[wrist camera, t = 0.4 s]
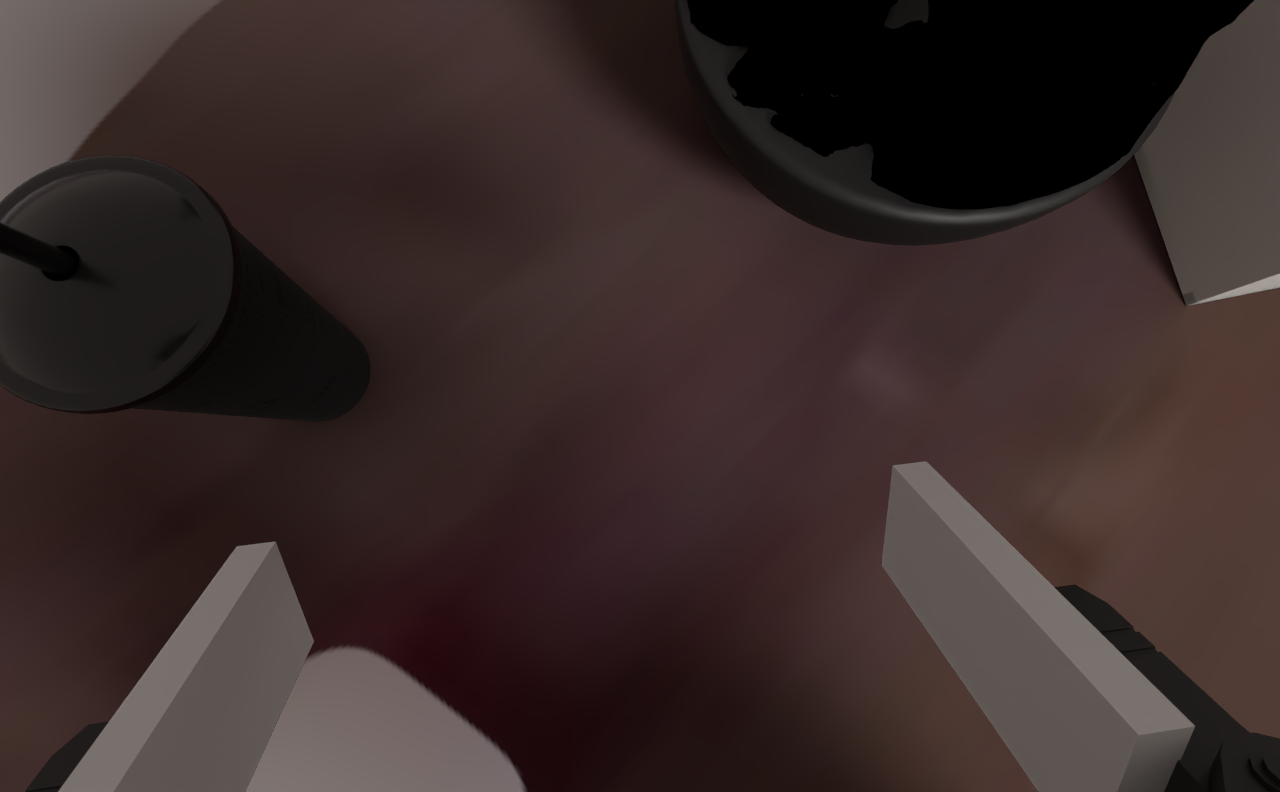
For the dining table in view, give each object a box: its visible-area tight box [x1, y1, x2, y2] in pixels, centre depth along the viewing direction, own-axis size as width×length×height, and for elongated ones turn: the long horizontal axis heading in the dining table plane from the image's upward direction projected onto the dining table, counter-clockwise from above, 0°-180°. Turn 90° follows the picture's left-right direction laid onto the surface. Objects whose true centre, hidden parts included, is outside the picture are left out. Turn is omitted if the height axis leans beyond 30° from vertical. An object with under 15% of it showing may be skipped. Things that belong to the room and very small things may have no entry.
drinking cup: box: [0, 155, 370, 421], centre depth 22 cm, size 8×8×20 cm
